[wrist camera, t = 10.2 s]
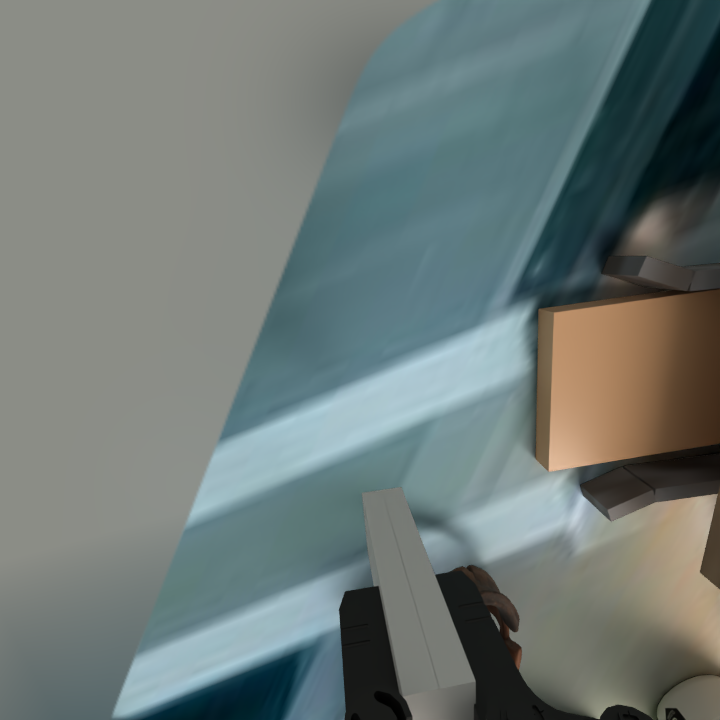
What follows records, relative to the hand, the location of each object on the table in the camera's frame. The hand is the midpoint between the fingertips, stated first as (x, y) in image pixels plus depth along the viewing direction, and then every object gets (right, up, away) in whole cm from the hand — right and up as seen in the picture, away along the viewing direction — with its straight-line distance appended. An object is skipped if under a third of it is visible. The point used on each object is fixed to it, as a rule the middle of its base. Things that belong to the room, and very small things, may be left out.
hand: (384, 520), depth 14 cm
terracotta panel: (+18, +6, +9) cm, 21 cm away
